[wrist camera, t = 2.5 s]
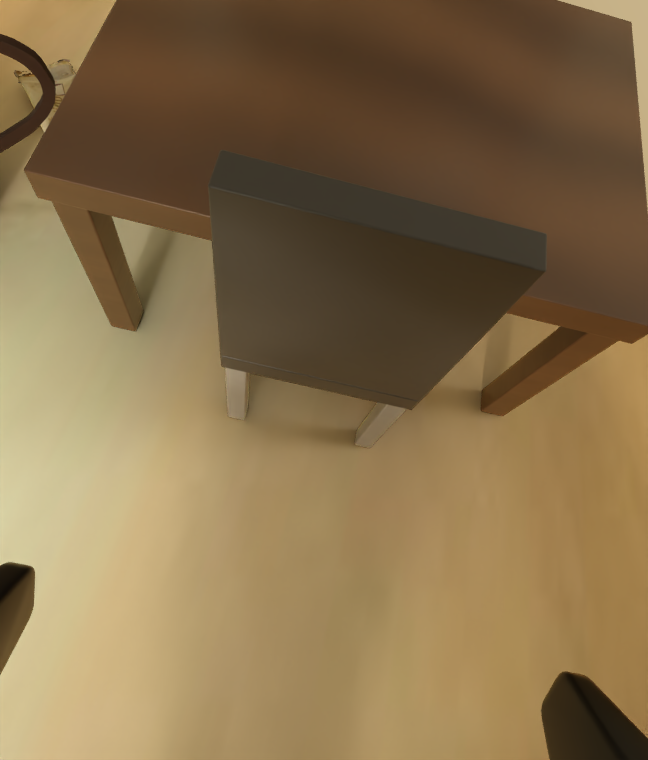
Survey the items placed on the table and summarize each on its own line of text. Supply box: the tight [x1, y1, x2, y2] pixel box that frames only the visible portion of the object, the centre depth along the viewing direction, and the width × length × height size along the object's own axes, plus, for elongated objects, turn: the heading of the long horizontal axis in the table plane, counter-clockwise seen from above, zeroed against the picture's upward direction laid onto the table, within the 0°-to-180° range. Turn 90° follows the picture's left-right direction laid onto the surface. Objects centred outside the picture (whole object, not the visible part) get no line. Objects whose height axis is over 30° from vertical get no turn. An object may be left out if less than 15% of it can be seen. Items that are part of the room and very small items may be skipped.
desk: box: [24, 0, 648, 416], centre depth 24 cm, size 16×20×10 cm
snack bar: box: [14, 59, 76, 132], centre depth 28 cm, size 10×2×3 cm
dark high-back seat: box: [208, 150, 547, 448], centre depth 19 cm, size 7×7×15 cm
